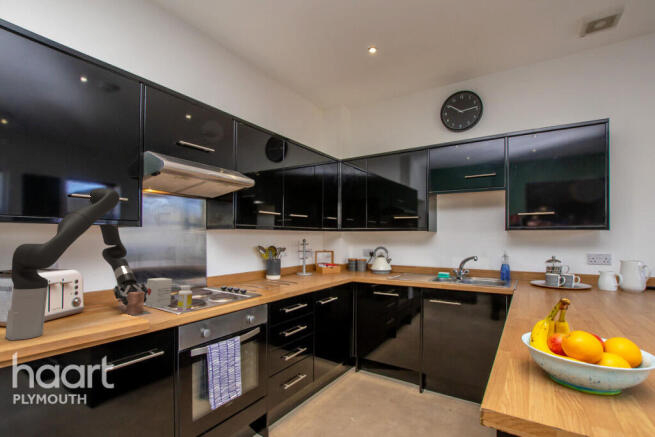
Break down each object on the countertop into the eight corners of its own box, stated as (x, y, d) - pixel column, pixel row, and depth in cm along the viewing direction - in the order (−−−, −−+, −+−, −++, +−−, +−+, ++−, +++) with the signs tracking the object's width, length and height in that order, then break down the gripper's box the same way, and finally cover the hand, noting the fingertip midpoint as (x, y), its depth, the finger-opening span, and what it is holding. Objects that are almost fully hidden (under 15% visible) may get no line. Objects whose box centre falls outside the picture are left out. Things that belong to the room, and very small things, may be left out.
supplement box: (144, 306, 169) (146, 278, 171) (160, 304, 177) (162, 277, 179) (155, 308, 165) (157, 280, 167) (170, 306, 173) (172, 278, 174)
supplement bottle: (191, 309, 166) (193, 284, 167) (190, 312, 160) (192, 286, 161) (177, 310, 164) (179, 285, 165) (176, 312, 158) (178, 286, 159)
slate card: (127, 318, 143) (127, 317, 143) (115, 315, 148) (115, 314, 148) (152, 313, 154) (152, 313, 154) (140, 311, 158) (141, 310, 159)
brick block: (132, 315, 147) (133, 293, 148) (126, 313, 150) (127, 292, 151) (142, 313, 152) (144, 292, 153) (136, 312, 154) (138, 291, 155)
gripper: (112, 272, 150) (124, 299, 144) (142, 271, 163) (154, 296, 156) (106, 283, 153) (116, 310, 146) (136, 280, 165) (147, 305, 158)
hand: (136, 302), depth 151 cm, fingers open, 8 cm apart
